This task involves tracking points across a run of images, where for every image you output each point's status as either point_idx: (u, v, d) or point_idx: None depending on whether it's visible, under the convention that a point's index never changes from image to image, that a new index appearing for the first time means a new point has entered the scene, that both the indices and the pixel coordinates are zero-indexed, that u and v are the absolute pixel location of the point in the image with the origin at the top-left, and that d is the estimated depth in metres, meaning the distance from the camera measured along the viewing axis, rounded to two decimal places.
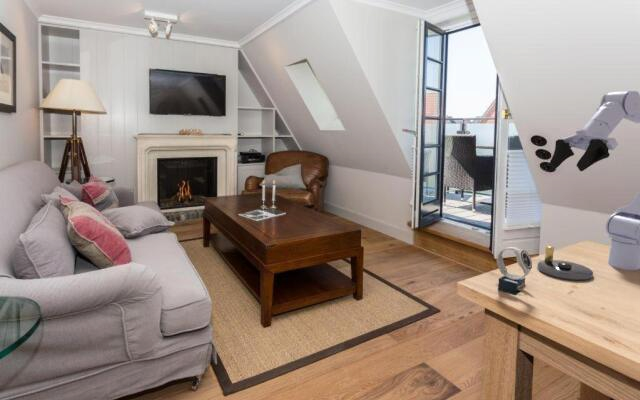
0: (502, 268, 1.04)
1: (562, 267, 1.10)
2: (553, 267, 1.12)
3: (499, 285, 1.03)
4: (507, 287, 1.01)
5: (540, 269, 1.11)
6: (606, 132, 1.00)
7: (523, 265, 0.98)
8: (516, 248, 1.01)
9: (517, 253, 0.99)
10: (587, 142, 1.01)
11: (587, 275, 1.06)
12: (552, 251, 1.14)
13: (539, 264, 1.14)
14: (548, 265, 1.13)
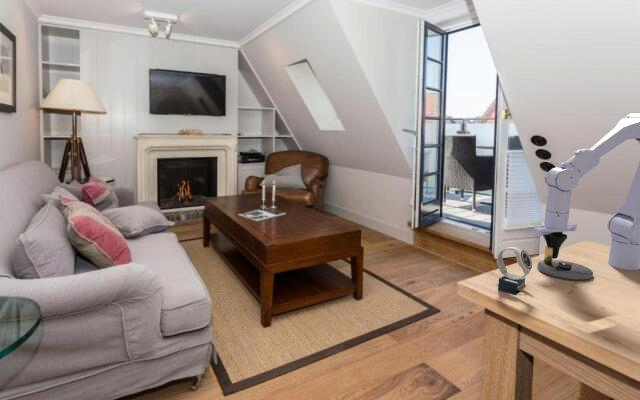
0: (502, 268, 1.04)
1: (562, 267, 1.10)
2: (553, 267, 1.12)
3: (499, 285, 1.03)
4: (507, 287, 1.01)
5: (541, 269, 1.11)
6: (549, 216, 1.13)
7: (523, 265, 0.98)
8: (516, 248, 1.01)
9: (517, 253, 0.99)
10: None
11: (588, 275, 1.06)
12: (551, 251, 1.14)
13: (539, 264, 1.14)
14: (548, 266, 1.13)
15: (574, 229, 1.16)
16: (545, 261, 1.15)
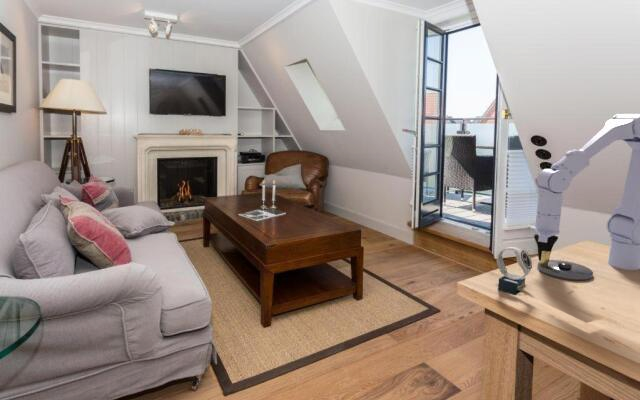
0: (502, 268, 1.04)
1: (568, 268, 1.10)
2: (561, 270, 1.09)
3: (499, 285, 1.03)
4: (507, 287, 1.01)
5: (560, 276, 1.06)
6: (547, 220, 1.09)
7: (523, 265, 0.98)
8: (516, 248, 1.01)
9: (517, 253, 0.99)
10: None
11: (588, 269, 1.10)
12: None
13: (549, 271, 1.09)
14: (555, 270, 1.10)
15: None
16: (545, 266, 1.12)
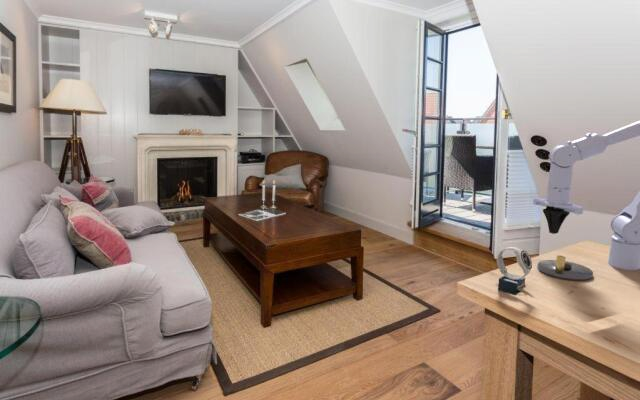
0: (502, 268, 1.04)
1: (571, 267, 1.10)
2: (573, 271, 1.09)
3: (499, 285, 1.03)
4: (507, 287, 1.01)
5: (587, 278, 1.05)
6: (567, 193, 1.15)
7: (523, 265, 0.98)
8: (516, 248, 1.01)
9: (517, 253, 0.99)
10: None
11: (567, 262, 1.16)
12: None
13: (576, 276, 1.05)
14: (571, 273, 1.08)
15: None
16: (563, 272, 1.07)
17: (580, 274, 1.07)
